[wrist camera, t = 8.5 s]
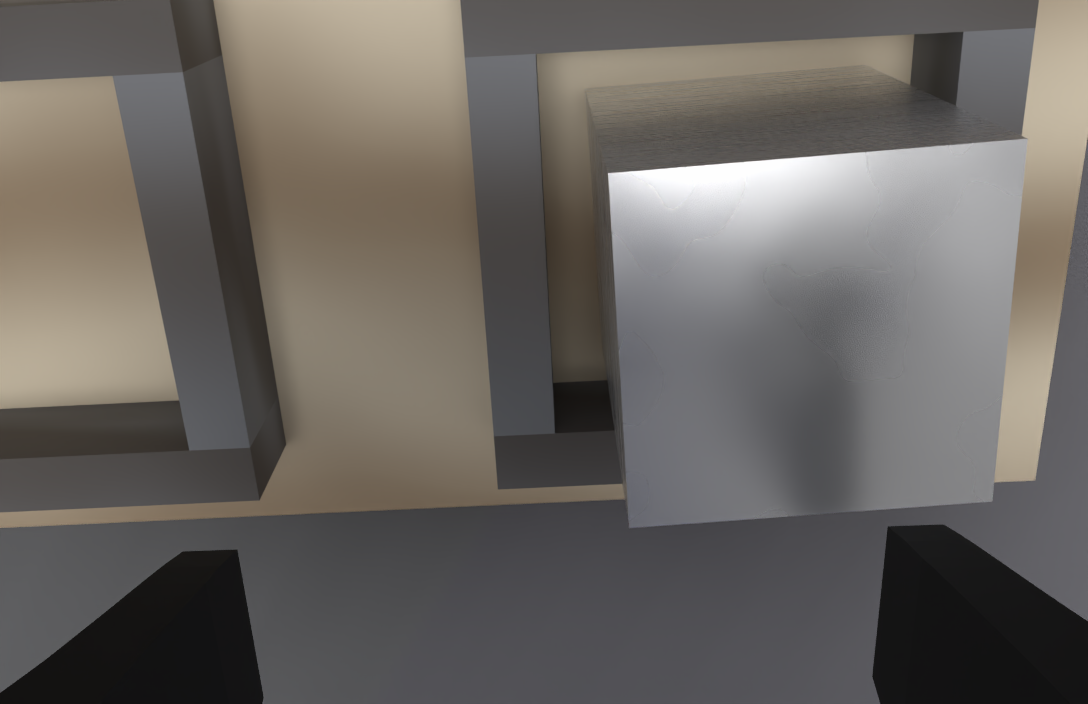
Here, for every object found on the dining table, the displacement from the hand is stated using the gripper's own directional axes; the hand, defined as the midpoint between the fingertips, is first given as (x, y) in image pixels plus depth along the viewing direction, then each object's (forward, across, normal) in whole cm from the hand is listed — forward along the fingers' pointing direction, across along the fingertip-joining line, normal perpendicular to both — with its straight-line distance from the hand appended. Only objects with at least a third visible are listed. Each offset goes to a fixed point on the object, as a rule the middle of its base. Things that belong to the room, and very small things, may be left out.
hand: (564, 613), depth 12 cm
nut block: (+8, -3, -2) cm, 9 cm away
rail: (+9, +3, -2) cm, 9 cm away
